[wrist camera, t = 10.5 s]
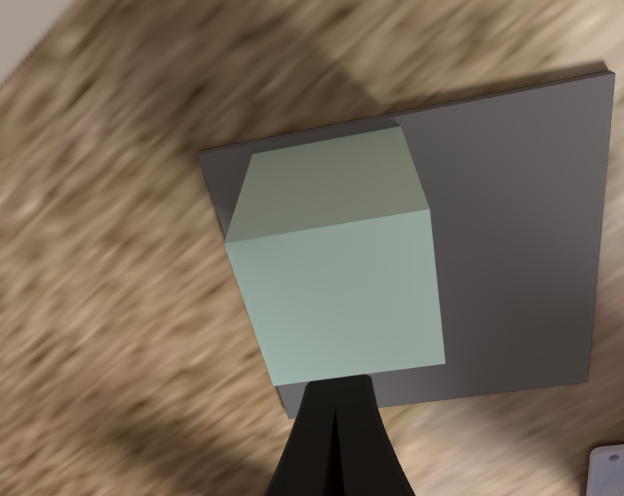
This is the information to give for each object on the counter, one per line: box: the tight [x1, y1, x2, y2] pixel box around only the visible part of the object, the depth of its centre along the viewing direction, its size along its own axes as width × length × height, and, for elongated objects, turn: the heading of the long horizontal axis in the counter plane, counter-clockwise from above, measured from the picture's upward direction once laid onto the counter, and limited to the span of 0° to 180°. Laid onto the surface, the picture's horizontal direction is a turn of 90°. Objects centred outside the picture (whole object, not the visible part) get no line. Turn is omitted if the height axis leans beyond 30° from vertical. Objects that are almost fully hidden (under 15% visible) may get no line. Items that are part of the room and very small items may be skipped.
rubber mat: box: [197, 70, 615, 419], centre depth 21 cm, size 14×14×1 cm
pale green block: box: [224, 126, 445, 386], centre depth 17 cm, size 5×5×6 cm
